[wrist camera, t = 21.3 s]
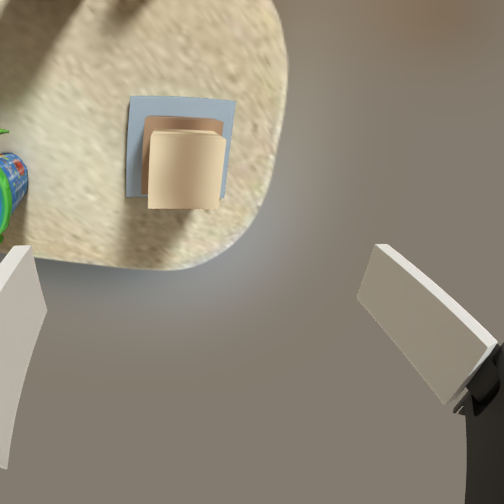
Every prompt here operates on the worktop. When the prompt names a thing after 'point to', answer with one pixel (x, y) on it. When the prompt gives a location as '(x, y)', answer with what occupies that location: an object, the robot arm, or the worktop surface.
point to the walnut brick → (171, 123)
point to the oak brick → (185, 169)
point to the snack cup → (10, 185)
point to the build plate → (171, 107)
